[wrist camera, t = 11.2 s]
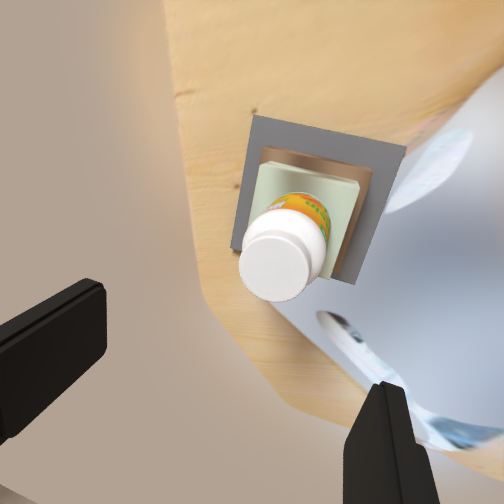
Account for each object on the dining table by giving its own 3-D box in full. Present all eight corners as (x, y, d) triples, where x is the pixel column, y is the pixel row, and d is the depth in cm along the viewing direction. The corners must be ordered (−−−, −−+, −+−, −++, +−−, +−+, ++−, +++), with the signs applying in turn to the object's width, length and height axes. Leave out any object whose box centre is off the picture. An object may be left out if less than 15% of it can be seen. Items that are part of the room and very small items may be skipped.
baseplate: (404, 146, 29) (406, 146, 28) (354, 280, 35) (354, 284, 34) (256, 115, 32) (253, 114, 31) (232, 245, 38) (230, 248, 37)
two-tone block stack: (370, 167, 30) (378, 179, 23) (339, 258, 34) (337, 293, 27) (271, 145, 32) (250, 149, 24) (253, 234, 36) (230, 260, 28)
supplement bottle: (343, 235, 25) (342, 291, 16) (287, 263, 27) (259, 326, 18) (309, 177, 24) (288, 203, 15) (254, 212, 26) (208, 252, 17)
